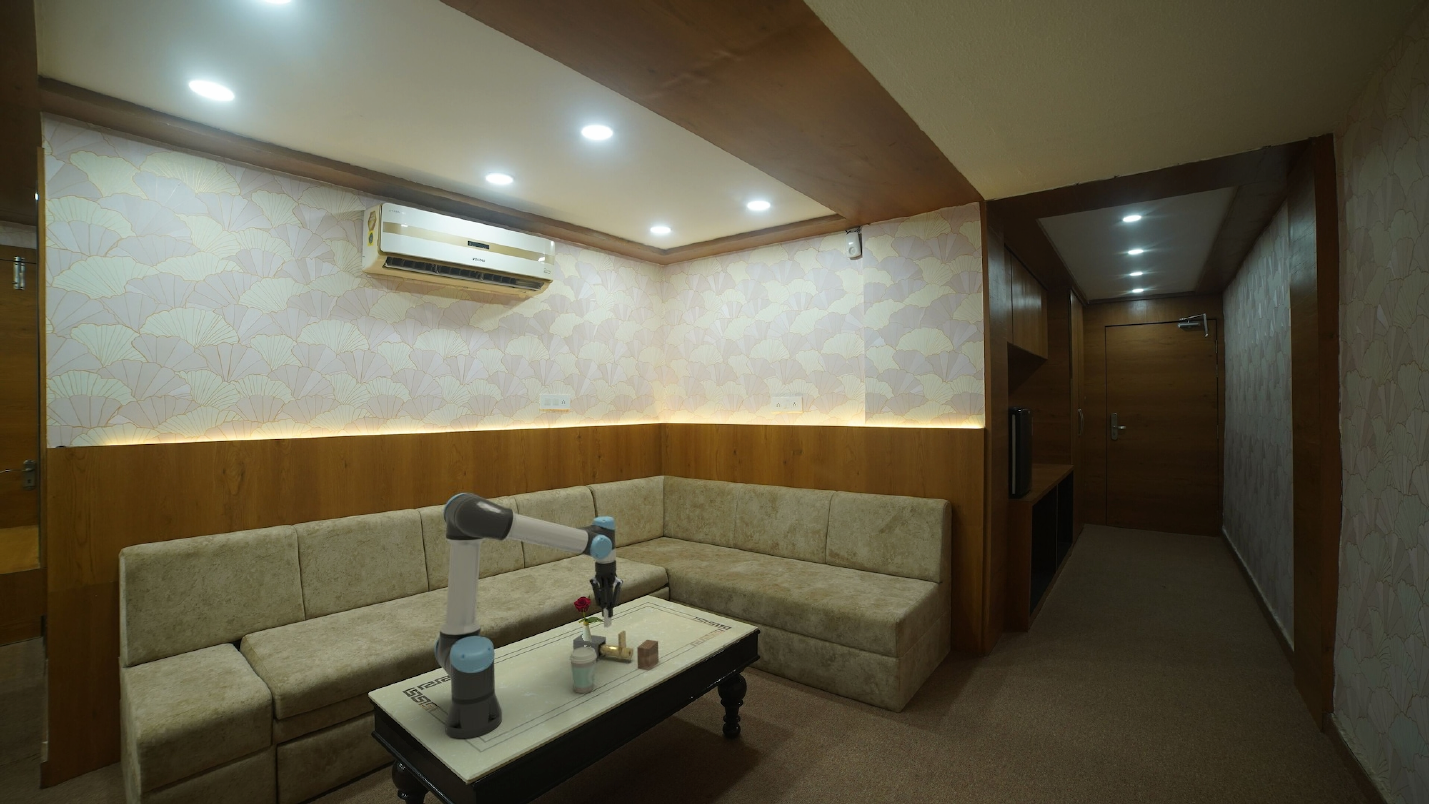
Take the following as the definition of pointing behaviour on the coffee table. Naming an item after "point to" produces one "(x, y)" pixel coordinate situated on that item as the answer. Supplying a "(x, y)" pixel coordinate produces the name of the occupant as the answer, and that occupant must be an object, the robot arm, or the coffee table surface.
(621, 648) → the tube
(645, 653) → the brown wooden block
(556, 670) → the coffee table surface
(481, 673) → the robot arm
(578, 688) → the coffee cup
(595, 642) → the sleeve
